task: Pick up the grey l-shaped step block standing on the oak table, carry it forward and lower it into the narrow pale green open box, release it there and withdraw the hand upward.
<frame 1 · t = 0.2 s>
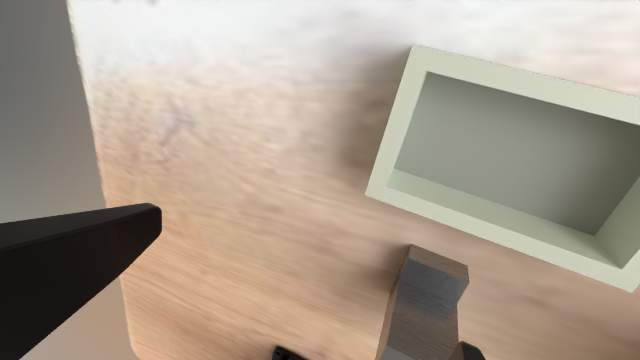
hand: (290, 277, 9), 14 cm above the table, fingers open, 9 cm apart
grey l-shaped step block: (426, 280, 23), on the table
pale green open box: (510, 150, 18), on the table
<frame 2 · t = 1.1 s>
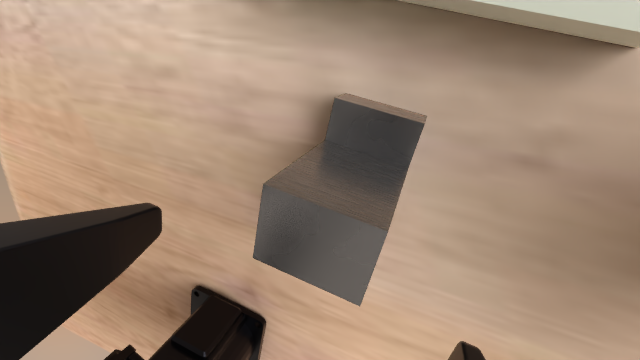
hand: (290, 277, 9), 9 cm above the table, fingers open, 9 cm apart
grey l-shaped step block: (370, 152, 16), on the table
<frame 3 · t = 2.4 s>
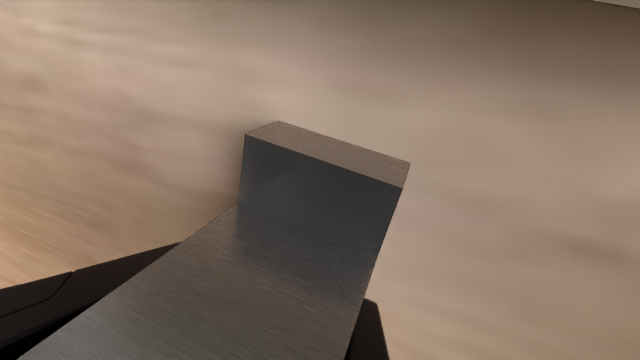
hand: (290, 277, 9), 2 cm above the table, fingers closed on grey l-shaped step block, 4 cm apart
grey l-shaped step block: (322, 214, 10), on the table, touching gripper
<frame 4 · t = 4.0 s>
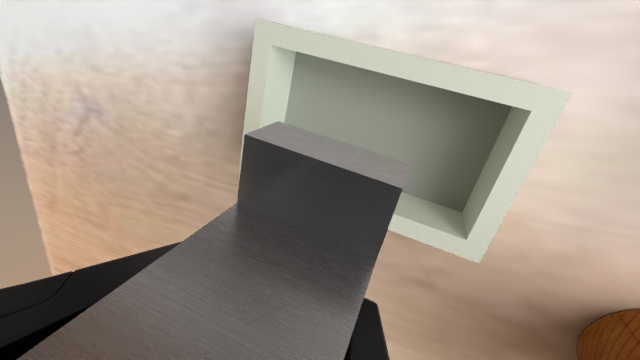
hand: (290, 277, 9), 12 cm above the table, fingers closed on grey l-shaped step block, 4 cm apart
grey l-shaped step block: (322, 214, 10), point 10 cm above the table, touching gripper
pale green open box: (380, 129, 18), on the table
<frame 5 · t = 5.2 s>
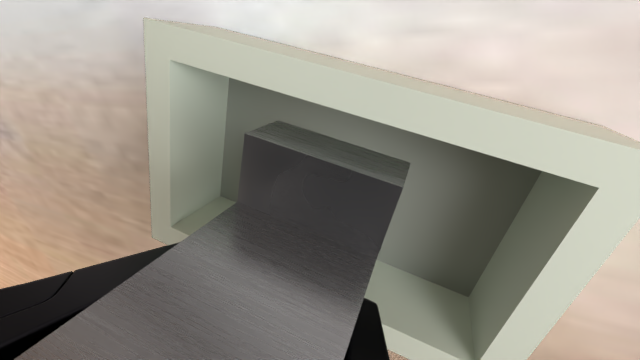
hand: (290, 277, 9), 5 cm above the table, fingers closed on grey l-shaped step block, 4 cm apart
grey l-shaped step block: (322, 213, 10), point 3 cm above the table, touching gripper
pale green open box: (351, 175, 13), on the table
when the fingers open (4 cm above the table, at t = 5.9 s): grey l-shaped step block drops 1 cm, resting on pale green open box.
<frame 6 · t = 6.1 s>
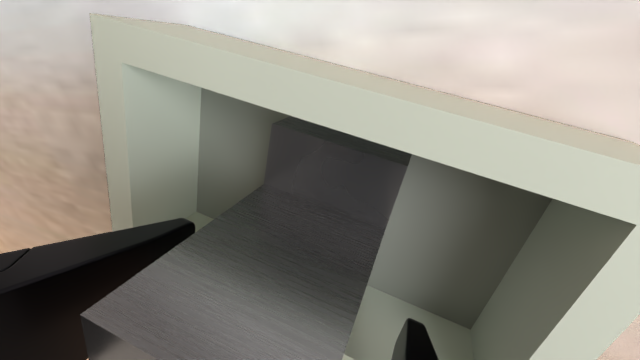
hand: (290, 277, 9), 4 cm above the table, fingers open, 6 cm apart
grey l-shaped step block: (335, 196, 11), resting on pale green open box
pale green open box: (339, 192, 11), on the table
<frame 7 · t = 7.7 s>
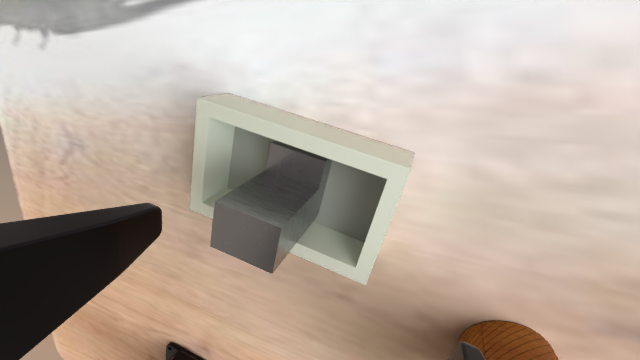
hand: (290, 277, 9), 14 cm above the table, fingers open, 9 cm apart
grey l-shaped step block: (300, 177, 23), resting on pale green open box
pale green open box: (302, 175, 23), on the table
disposable coffee cup: (503, 353, 23), on the table
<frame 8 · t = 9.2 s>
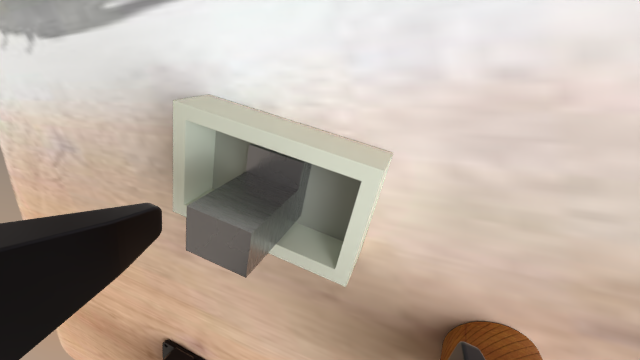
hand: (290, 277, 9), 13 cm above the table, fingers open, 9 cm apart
grey l-shaped step block: (282, 178, 23), resting on pale green open box
pale green open box: (284, 176, 23), on the table
disposable coffee cup: (488, 353, 22), on the table
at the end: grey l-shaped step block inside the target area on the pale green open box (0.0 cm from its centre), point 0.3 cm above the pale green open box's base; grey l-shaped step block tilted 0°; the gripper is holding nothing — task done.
